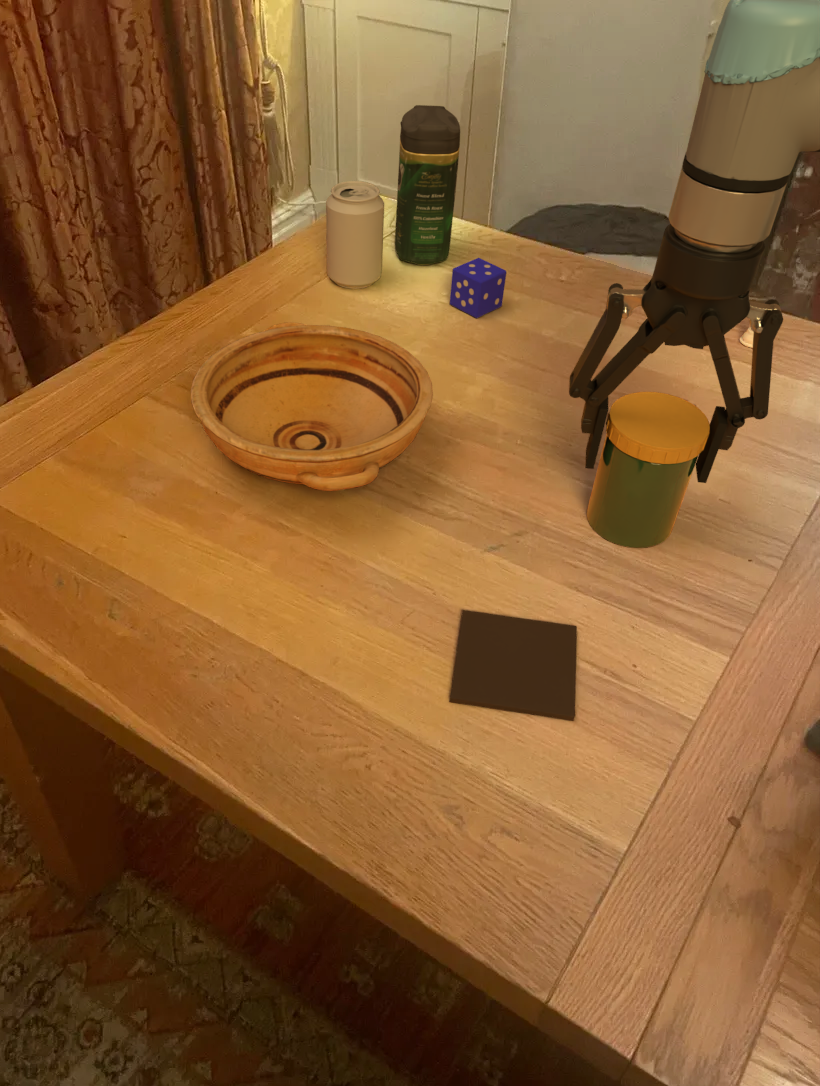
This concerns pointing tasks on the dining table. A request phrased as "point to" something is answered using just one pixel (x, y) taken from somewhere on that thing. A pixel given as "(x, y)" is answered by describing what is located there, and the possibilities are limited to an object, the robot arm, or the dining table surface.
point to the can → (354, 234)
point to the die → (477, 287)
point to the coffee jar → (426, 184)
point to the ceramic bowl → (312, 403)
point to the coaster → (515, 665)
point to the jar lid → (657, 427)
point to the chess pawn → (747, 338)
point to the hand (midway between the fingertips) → (644, 466)
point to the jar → (636, 498)
